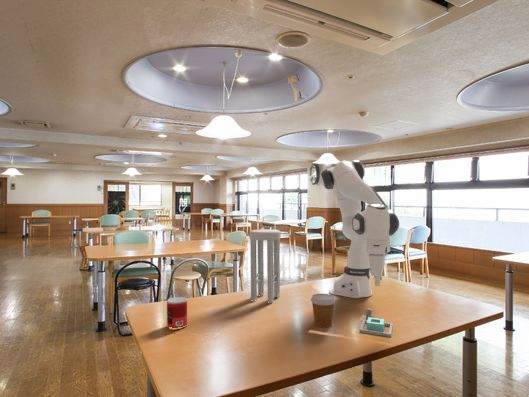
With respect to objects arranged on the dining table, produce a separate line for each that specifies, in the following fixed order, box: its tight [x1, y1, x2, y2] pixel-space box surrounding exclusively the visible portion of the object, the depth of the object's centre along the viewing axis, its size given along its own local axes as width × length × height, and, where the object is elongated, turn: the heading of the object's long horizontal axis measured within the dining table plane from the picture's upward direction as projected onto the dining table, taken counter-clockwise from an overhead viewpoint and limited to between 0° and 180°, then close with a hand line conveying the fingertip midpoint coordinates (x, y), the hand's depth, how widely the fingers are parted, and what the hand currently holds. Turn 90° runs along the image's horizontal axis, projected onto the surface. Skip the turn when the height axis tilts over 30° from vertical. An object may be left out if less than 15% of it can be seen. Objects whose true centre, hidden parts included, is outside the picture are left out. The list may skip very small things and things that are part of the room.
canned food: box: [166, 296, 188, 328], centre depth 133 cm, size 8×8×11 cm
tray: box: [359, 320, 394, 338], centre depth 127 cm, size 11×11×2 cm
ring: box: [365, 317, 385, 332], centre depth 127 cm, size 6×6×4 cm
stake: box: [358, 307, 380, 322], centre depth 137 cm, size 7×7×5 cm
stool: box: [249, 228, 282, 304], centre depth 169 cm, size 16×16×35 cm
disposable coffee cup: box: [310, 293, 336, 328], centre depth 132 cm, size 10×10×12 cm
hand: (378, 282), depth 126 cm, fingers open, 8 cm apart
